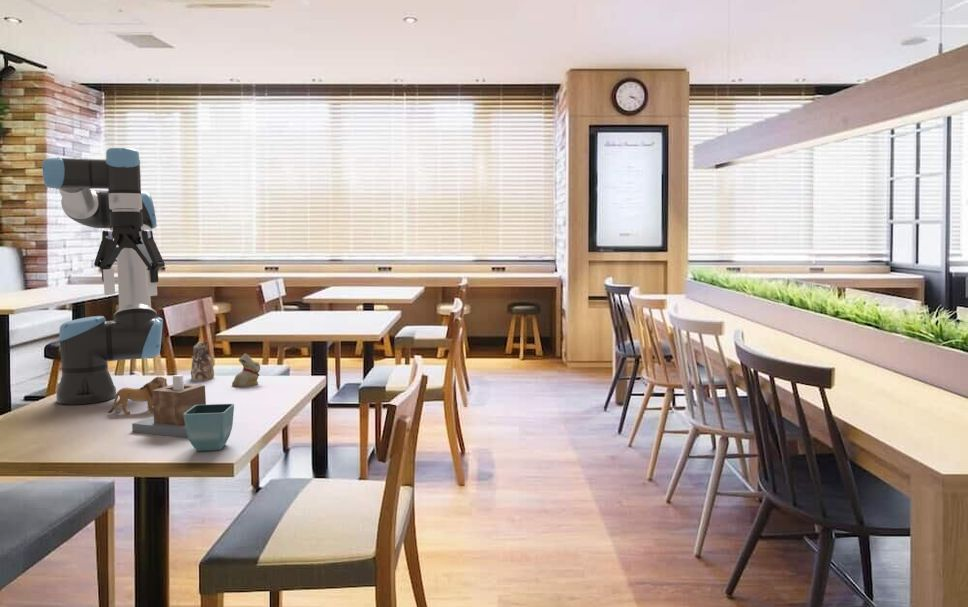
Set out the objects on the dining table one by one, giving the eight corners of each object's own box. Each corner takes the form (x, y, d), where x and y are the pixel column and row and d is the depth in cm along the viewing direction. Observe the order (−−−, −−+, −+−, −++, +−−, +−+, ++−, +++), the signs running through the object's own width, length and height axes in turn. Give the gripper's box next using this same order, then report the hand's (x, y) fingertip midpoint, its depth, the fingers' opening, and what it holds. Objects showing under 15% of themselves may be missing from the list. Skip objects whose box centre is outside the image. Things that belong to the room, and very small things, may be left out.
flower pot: (196, 442, 167) (194, 404, 167) (236, 441, 168) (234, 403, 167) (184, 454, 159) (182, 413, 158) (226, 453, 159) (224, 412, 159)
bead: (154, 422, 177) (152, 390, 176) (179, 414, 185) (177, 383, 184) (182, 425, 174) (180, 392, 173) (206, 417, 182) (204, 385, 181)
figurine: (185, 379, 237) (183, 342, 236) (202, 375, 244) (200, 339, 243) (202, 381, 235) (200, 344, 233) (218, 377, 241) (217, 340, 240)
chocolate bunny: (256, 386, 226) (254, 354, 225) (230, 386, 226) (229, 354, 225) (261, 382, 232) (260, 351, 231) (237, 382, 232) (235, 351, 231)
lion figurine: (168, 406, 202) (166, 374, 201) (169, 410, 197) (167, 377, 196) (108, 412, 195) (105, 379, 194) (107, 417, 190) (105, 383, 190)
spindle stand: (132, 431, 177) (129, 378, 176) (168, 419, 188) (166, 369, 187) (193, 438, 171) (190, 383, 170) (227, 424, 182) (225, 373, 181)
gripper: (75, 211, 185) (80, 295, 187) (154, 210, 177) (159, 297, 179) (99, 211, 192) (104, 292, 194) (177, 210, 184) (181, 294, 186)
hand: (130, 295), depth 187 cm, fingers open, 13 cm apart
